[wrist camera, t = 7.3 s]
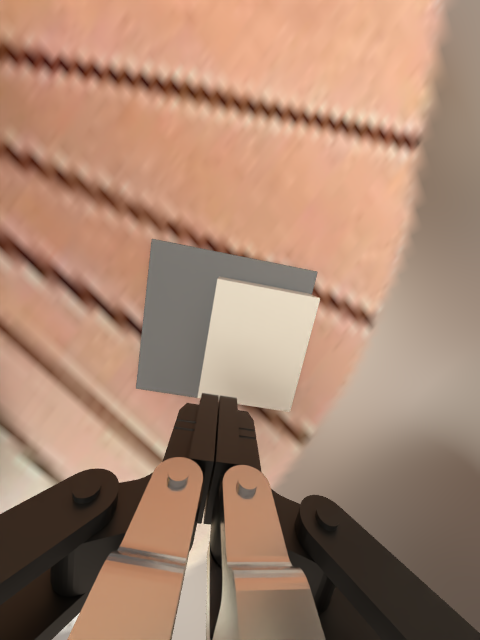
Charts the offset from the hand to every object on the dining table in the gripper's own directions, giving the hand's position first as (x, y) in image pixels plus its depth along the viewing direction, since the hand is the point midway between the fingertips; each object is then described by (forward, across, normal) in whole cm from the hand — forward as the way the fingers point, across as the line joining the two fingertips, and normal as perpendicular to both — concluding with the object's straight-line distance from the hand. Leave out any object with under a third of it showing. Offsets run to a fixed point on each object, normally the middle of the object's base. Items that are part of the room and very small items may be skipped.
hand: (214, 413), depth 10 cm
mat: (+13, 0, 0) cm, 13 cm away
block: (+11, +1, 0) cm, 11 cm away
